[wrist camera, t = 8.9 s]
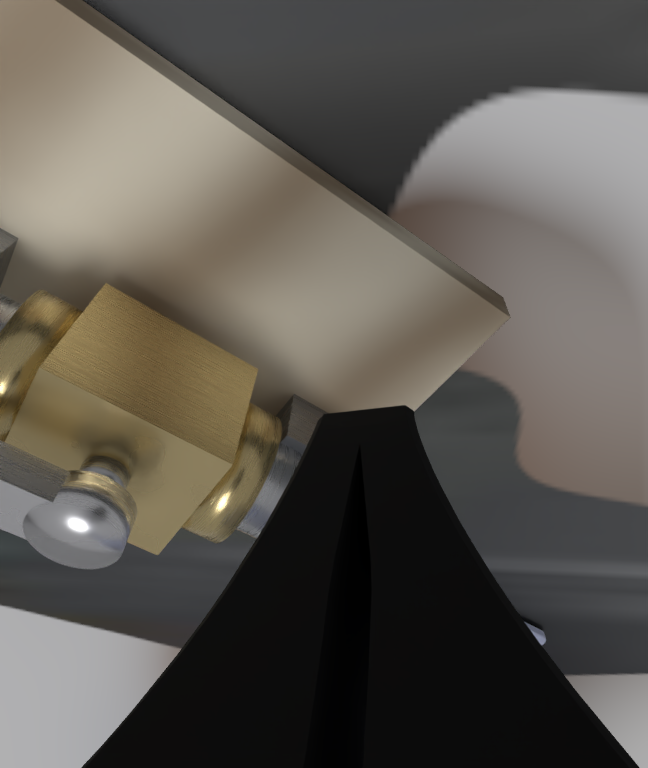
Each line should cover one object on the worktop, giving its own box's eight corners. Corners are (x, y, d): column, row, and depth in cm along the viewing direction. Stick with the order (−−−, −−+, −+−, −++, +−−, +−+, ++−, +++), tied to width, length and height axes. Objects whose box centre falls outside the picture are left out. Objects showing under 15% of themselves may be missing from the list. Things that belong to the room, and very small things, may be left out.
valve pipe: (382, 423, 19) (386, 560, 15) (309, 496, 22) (294, 634, 17) (-90, 151, 15) (-277, 234, 11) (-118, 279, 17) (-282, 390, 13)
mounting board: (502, 297, 18) (510, 317, 17) (278, 523, 24) (275, 547, 23) (-33, -81, 13) (-65, -84, 12) (-126, 328, 20) (-152, 347, 19)
